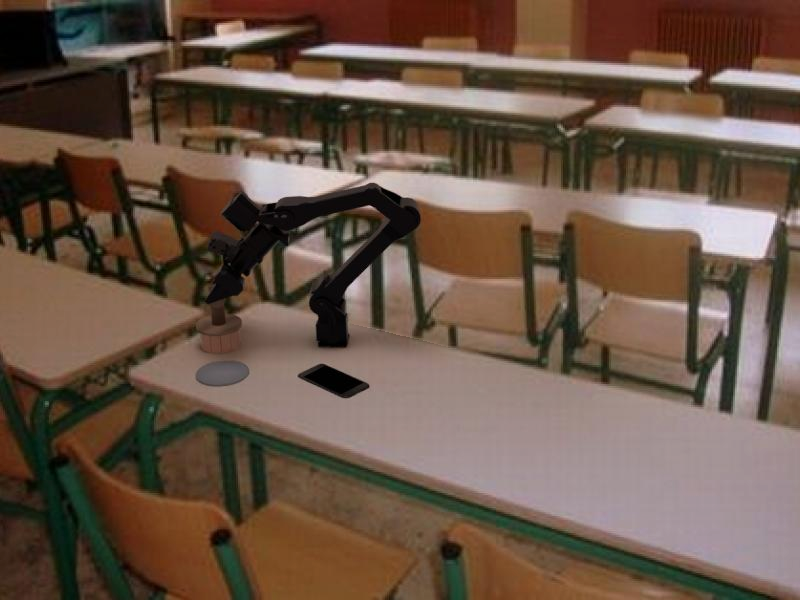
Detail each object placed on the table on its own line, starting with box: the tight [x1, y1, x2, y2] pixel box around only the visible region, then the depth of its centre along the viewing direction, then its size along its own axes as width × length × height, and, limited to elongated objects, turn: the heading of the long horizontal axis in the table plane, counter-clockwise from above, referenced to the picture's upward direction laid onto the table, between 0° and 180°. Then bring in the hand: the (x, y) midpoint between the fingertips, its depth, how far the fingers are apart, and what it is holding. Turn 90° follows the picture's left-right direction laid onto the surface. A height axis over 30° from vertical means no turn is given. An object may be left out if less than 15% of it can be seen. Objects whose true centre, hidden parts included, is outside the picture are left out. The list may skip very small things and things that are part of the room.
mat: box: [195, 359, 250, 387], centre depth 200 cm, size 11×11×1 cm
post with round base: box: [195, 283, 243, 336], centre depth 209 cm, size 10×10×10 cm
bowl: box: [199, 329, 242, 354], centre depth 212 cm, size 8×8×4 cm
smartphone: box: [297, 363, 370, 399], centre depth 196 cm, size 7×15×1 cm, turn 47°
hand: (209, 294), depth 208 cm, fingers open, 9 cm apart
